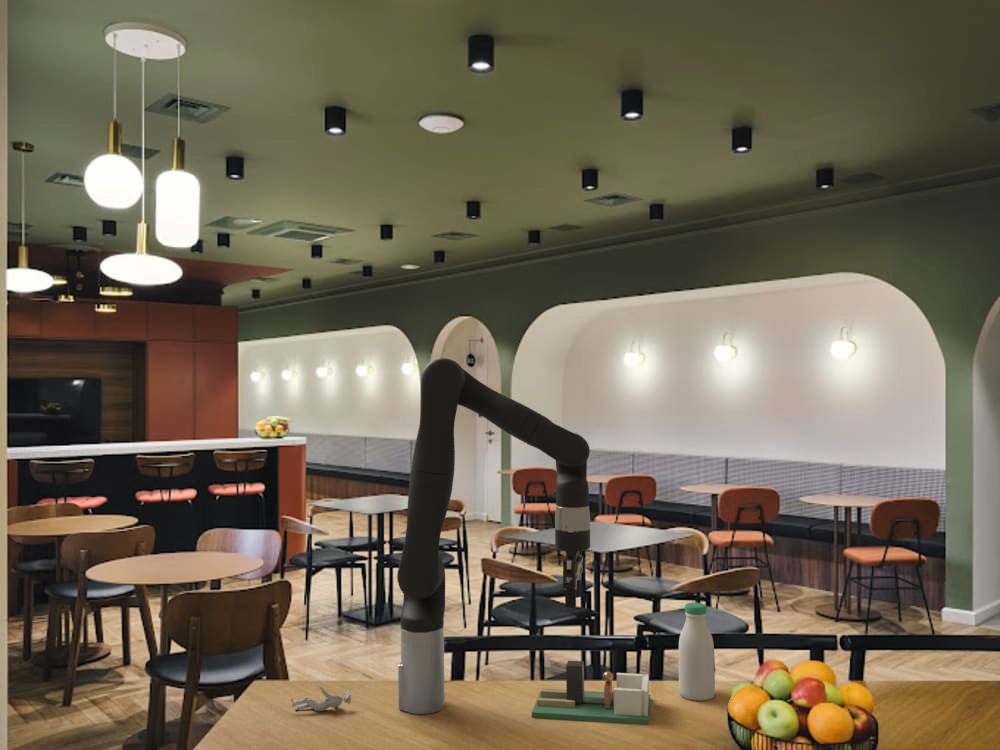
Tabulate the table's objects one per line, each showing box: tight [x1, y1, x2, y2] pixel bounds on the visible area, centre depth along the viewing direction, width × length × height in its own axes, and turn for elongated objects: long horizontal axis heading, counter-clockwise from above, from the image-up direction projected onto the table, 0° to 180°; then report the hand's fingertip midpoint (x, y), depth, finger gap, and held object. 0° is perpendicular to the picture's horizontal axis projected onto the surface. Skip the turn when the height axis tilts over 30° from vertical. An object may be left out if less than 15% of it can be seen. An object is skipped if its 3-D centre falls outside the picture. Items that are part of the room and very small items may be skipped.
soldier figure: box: [290, 684, 352, 712], centre depth 187 cm, size 8×5×12 cm
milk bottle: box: [678, 602, 716, 702], centre depth 193 cm, size 8×8×20 cm
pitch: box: [531, 688, 651, 725], centre depth 186 cm, size 24×14×2 cm, turn 79°
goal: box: [613, 672, 650, 716], centre depth 184 cm, size 7×10×5 cm, turn 169°
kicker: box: [565, 660, 614, 708], centre depth 186 cm, size 10×6×8 cm, turn 79°
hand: (572, 602), depth 187 cm, fingers open, 8 cm apart
